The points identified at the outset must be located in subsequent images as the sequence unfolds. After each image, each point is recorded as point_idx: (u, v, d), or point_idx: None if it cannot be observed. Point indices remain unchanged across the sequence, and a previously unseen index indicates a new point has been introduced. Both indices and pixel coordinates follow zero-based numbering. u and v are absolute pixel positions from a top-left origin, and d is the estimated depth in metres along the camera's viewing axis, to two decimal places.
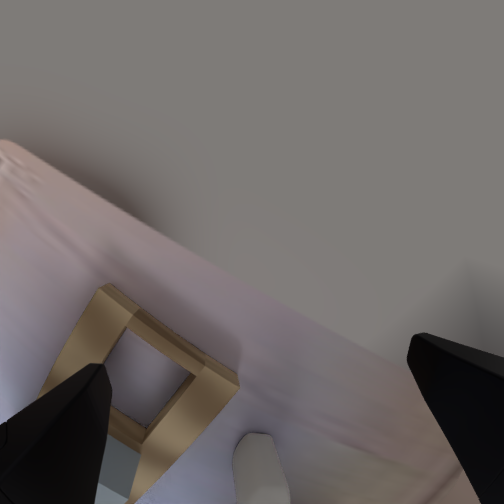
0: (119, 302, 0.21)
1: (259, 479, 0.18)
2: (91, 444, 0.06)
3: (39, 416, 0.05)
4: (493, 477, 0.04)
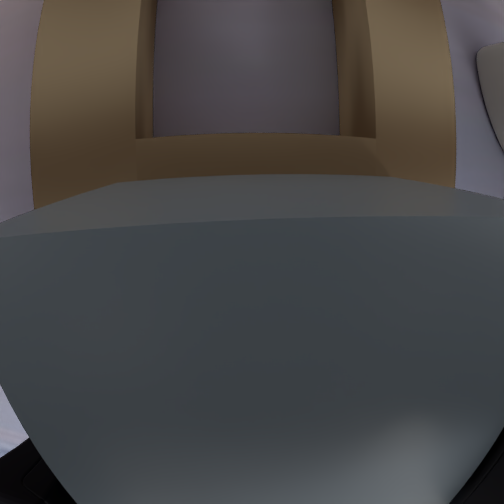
0: None
1: None
2: None
3: None
4: (467, 493, 0.04)
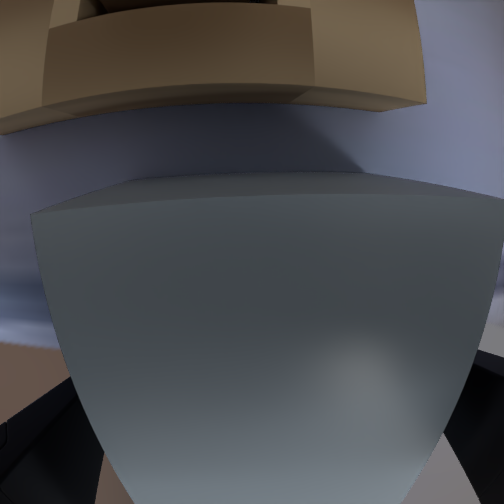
0: None
1: None
2: (91, 444, 0.06)
3: (39, 416, 0.05)
4: (492, 477, 0.05)
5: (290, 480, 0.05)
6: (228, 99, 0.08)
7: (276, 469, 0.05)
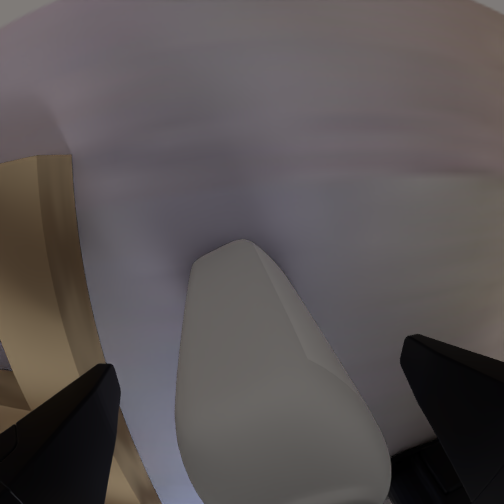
0: None
1: (178, 391, 0.05)
2: (101, 445, 0.06)
3: (49, 418, 0.05)
4: (486, 481, 0.04)
5: None
6: None
7: None
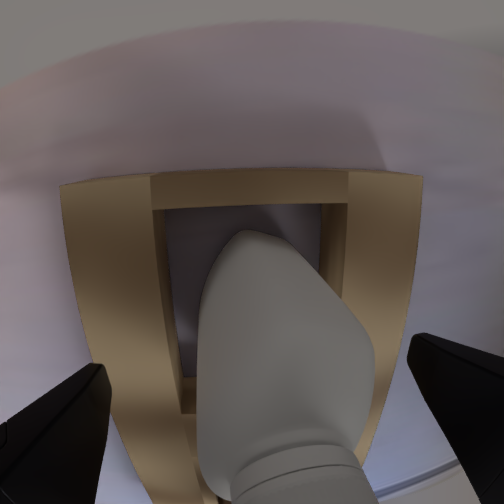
0: (112, 179, 0.09)
1: (276, 304, 0.06)
2: (91, 444, 0.06)
3: (39, 416, 0.05)
4: (492, 477, 0.05)
5: None
6: None
7: None
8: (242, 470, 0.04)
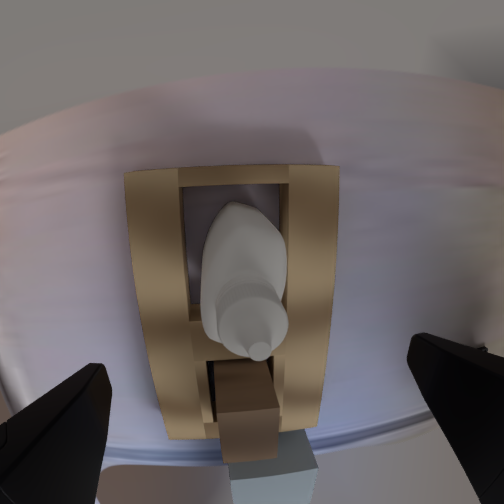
0: (155, 169, 0.17)
1: (239, 221, 0.14)
2: (91, 444, 0.06)
3: (39, 416, 0.05)
4: (492, 477, 0.05)
5: (271, 503, 0.22)
6: None
7: (268, 502, 0.22)
8: (221, 289, 0.12)
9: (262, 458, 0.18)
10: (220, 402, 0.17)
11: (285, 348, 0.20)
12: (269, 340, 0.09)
